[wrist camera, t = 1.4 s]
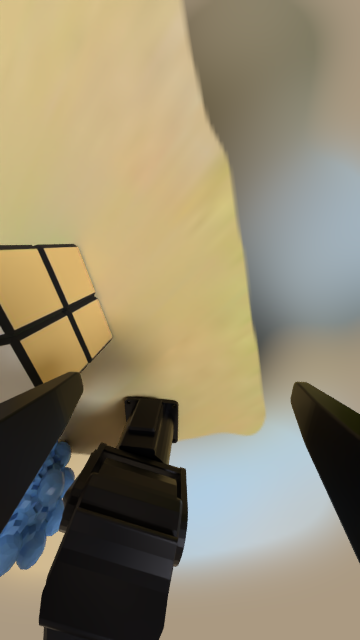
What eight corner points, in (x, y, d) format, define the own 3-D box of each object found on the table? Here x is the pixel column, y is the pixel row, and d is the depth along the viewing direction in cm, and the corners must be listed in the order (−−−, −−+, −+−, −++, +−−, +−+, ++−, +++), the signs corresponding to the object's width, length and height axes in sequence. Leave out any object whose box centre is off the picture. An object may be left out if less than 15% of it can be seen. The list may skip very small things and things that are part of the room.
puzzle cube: (37, 352, 24) (-68, 423, 14) (-8, 267, 20) (-182, 288, 11) (115, 338, 22) (52, 408, 13) (78, 243, 19) (-43, 243, 9)
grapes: (111, 464, 30) (57, 598, 18) (75, 472, 31) (5, 600, 20) (67, 405, 26) (-33, 526, 15) (28, 417, 28) (-88, 535, 17)
